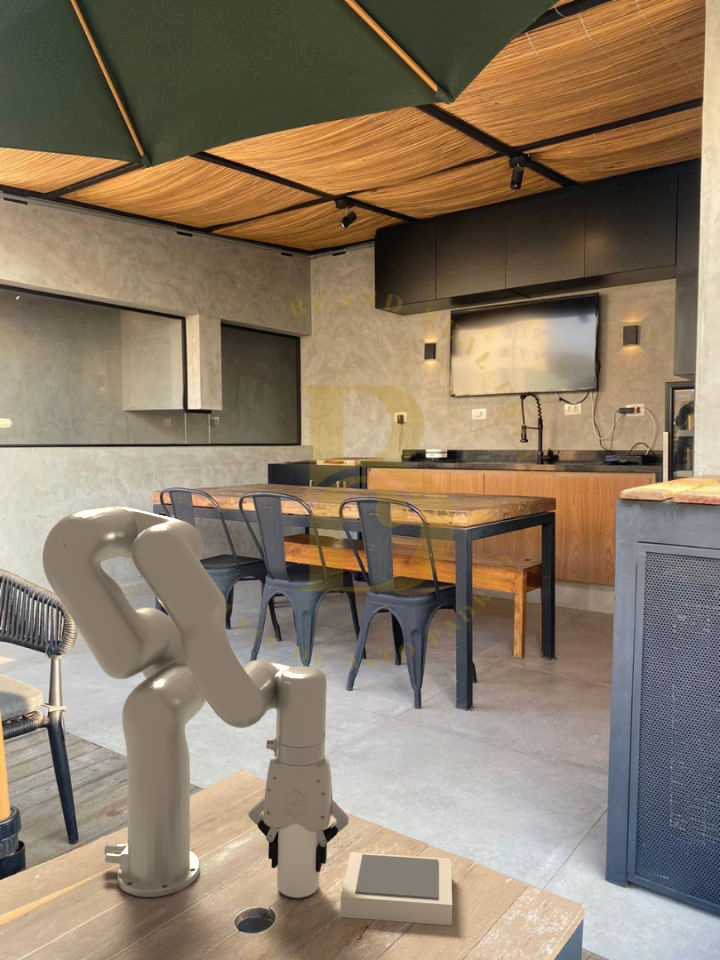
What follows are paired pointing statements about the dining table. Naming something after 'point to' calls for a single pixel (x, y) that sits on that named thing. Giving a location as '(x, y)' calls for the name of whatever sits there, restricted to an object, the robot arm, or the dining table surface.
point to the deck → (398, 888)
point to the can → (297, 862)
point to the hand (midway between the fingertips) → (297, 864)
